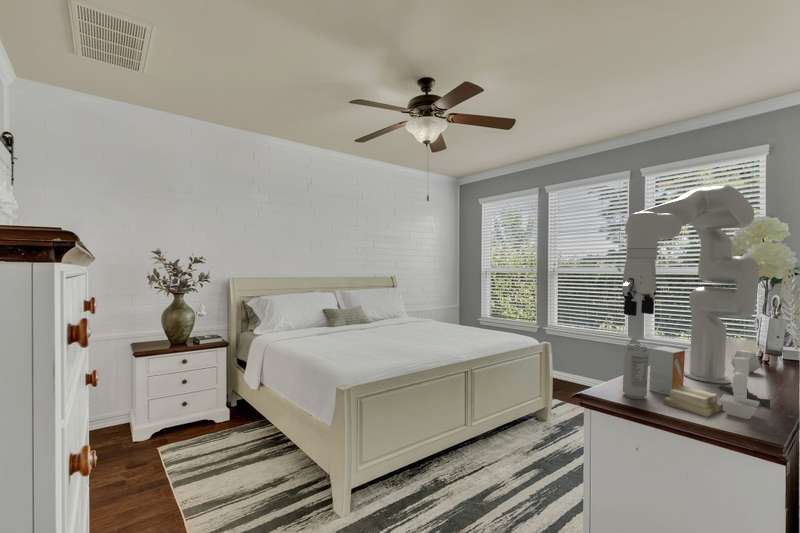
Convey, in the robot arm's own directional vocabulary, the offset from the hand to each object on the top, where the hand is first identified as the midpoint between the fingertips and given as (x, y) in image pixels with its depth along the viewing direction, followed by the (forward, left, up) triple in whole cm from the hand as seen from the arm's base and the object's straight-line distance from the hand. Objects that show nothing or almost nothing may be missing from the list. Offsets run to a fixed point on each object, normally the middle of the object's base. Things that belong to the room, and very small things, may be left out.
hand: (638, 314), depth 113 cm
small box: (-14, +2, -24) cm, 28 cm away
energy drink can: (0, 0, -24) cm, 24 cm away
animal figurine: (-25, +17, -24) cm, 39 cm away
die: (-68, +5, -24) cm, 72 cm away
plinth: (-6, +12, -24) cm, 28 cm away
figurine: (-11, +21, -24) cm, 34 cm away
